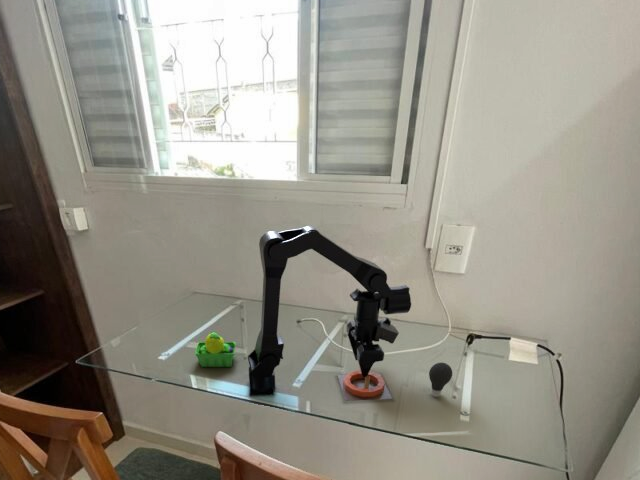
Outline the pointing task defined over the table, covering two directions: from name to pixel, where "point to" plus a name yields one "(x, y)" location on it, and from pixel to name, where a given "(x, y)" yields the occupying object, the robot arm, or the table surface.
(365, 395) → the ring
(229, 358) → the fruit basket
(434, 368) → the light bulb
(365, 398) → the peg stand
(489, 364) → the table surface
